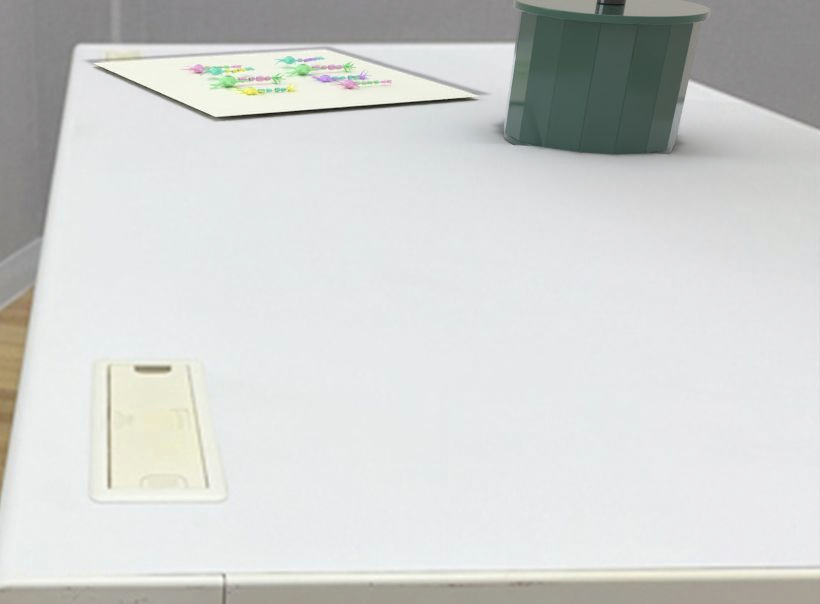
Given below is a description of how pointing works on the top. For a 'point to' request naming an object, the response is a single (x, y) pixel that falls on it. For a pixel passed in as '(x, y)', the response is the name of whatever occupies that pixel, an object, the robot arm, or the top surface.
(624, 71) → the tin
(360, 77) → the printed paper
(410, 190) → the top surface
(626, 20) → the tin lid
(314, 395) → the top surface
